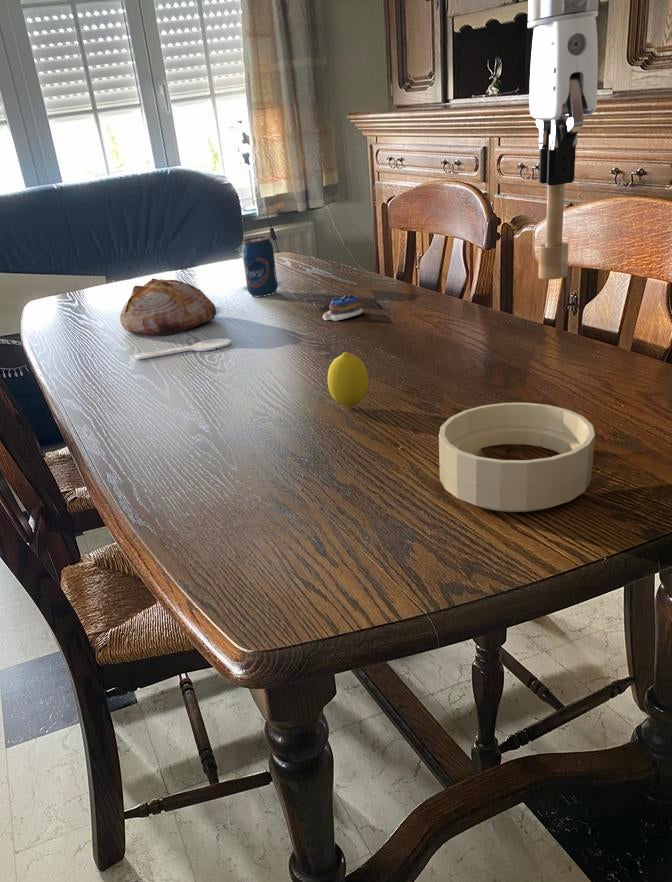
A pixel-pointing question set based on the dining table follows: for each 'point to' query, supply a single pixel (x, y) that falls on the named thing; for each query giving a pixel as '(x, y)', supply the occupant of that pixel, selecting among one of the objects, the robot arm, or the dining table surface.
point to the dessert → (343, 308)
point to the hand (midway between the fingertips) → (556, 181)
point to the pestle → (554, 236)
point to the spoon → (187, 348)
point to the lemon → (348, 380)
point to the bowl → (516, 479)
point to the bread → (165, 308)
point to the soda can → (259, 266)
